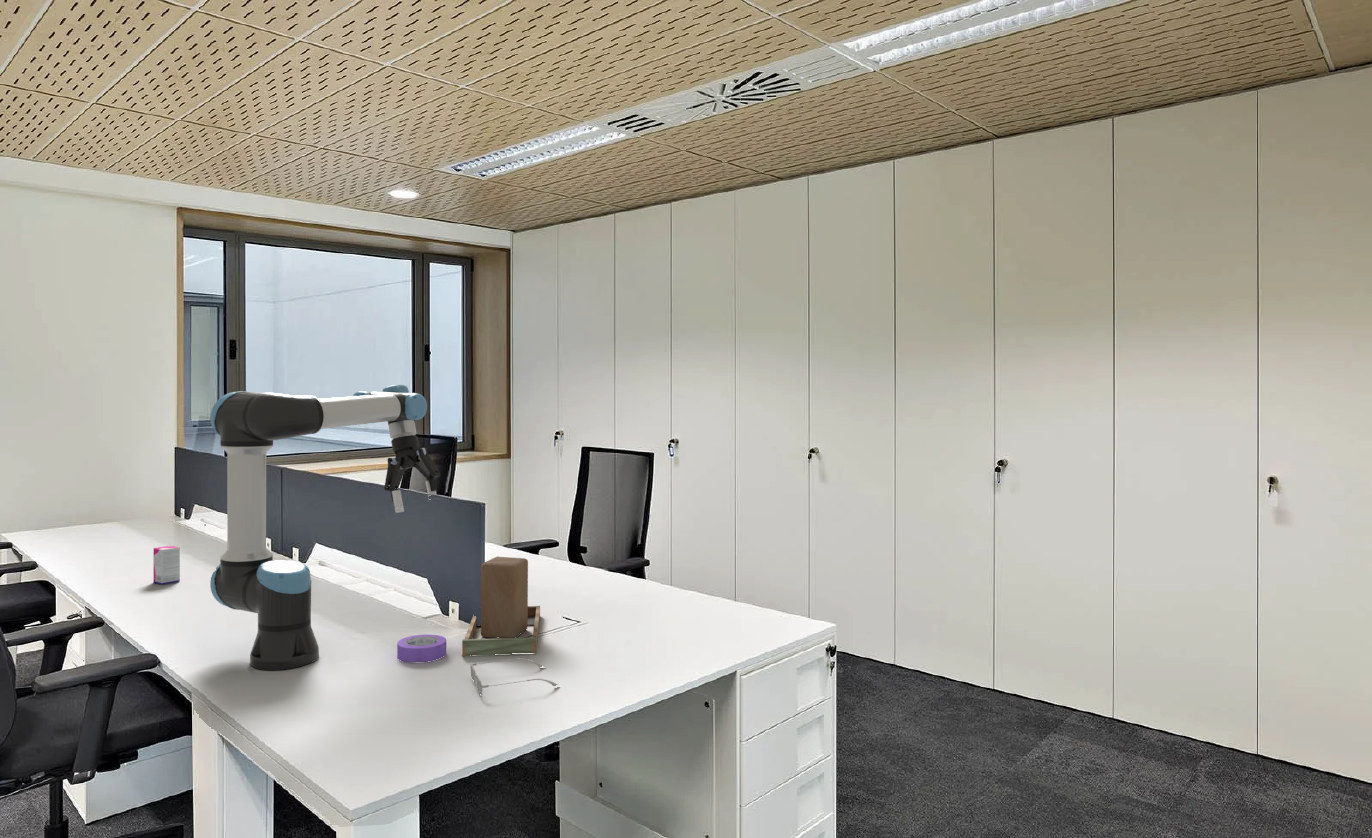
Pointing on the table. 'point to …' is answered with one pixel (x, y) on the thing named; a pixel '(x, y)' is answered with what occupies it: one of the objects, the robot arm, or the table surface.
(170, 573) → the supplement box
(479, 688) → the eyeglasses
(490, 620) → the block
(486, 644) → the wooden tray
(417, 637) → the masking tape
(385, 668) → the table surface
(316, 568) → the table surface
